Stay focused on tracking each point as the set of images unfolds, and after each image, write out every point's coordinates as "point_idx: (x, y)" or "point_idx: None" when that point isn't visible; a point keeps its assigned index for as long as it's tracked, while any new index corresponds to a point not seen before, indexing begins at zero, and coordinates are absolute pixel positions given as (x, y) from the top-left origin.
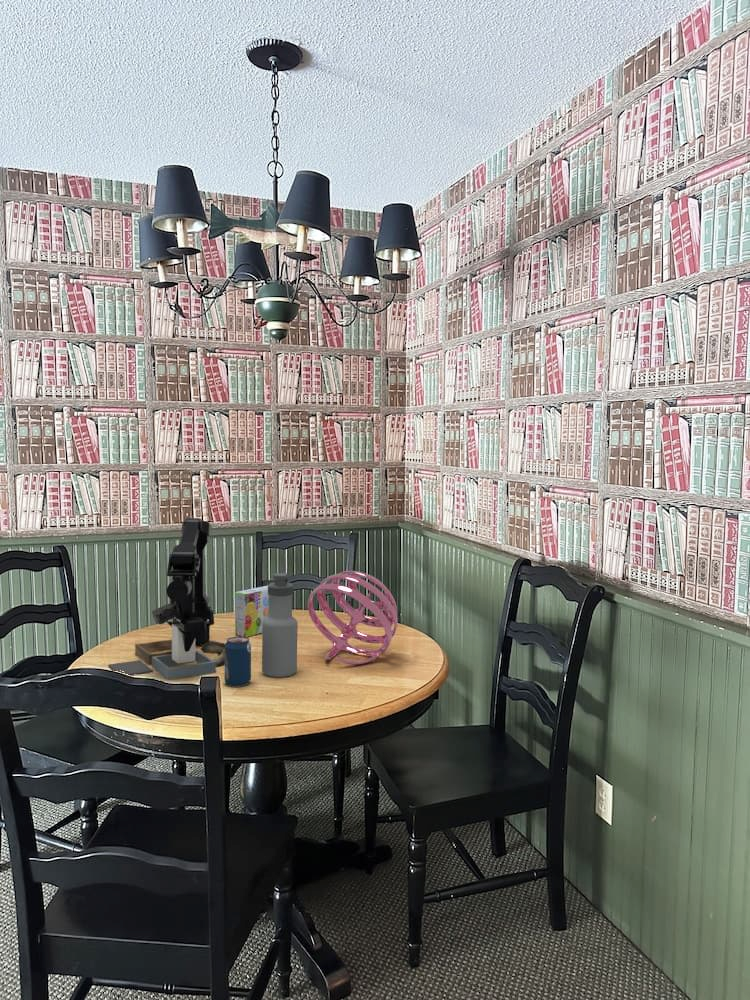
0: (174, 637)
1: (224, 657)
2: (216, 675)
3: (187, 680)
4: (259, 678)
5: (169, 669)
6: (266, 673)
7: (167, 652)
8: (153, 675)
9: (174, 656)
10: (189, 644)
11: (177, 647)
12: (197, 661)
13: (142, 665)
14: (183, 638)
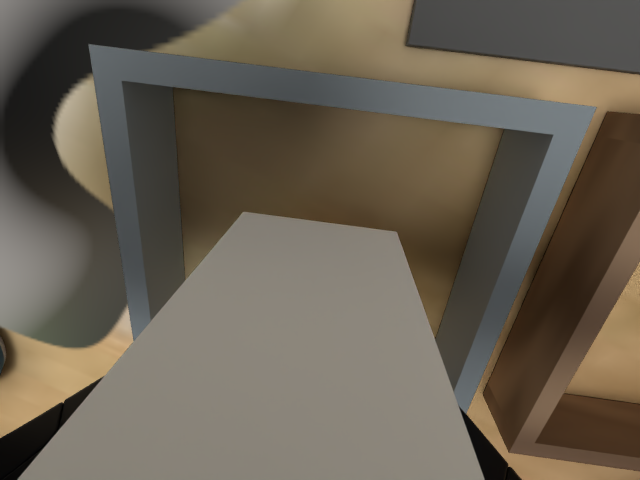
0: (310, 393)
1: None
2: (120, 330)
3: (88, 167)
4: (7, 424)
5: (94, 62)
6: None
7: (595, 289)
8: (325, 8)
9: (326, 238)
10: None
11: (205, 286)
12: None
13: (621, 29)
14: (49, 439)
